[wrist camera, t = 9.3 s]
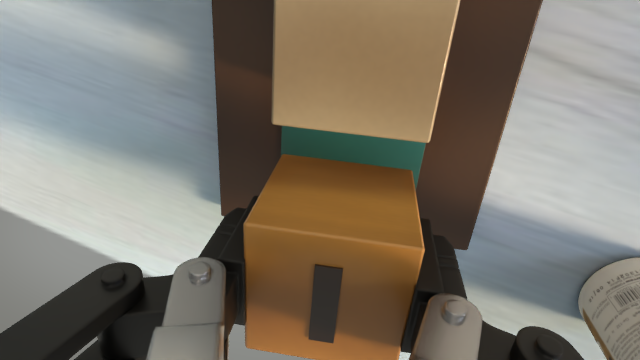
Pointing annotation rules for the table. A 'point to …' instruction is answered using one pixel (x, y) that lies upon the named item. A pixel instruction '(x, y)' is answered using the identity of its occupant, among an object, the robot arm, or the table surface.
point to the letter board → (370, 92)
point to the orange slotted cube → (332, 260)
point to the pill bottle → (614, 309)
